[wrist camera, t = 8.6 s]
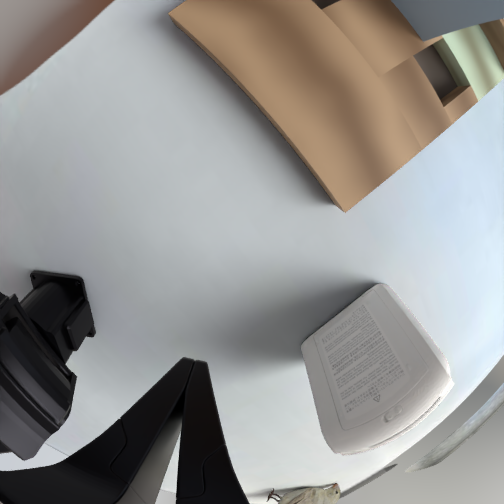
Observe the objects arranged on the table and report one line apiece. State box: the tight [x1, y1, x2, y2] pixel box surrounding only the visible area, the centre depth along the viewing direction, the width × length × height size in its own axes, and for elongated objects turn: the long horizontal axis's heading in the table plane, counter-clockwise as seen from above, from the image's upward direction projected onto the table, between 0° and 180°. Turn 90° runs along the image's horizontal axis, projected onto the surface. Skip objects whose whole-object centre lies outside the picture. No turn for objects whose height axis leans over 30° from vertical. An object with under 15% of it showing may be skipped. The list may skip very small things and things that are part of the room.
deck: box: [168, 0, 504, 213], centre depth 12 cm, size 24×18×5 cm
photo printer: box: [301, 283, 454, 455], centre depth 19 cm, size 10×4×12 cm, turn 134°
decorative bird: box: [268, 483, 340, 504], centre depth 40 cm, size 5×16×7 cm, turn 82°
